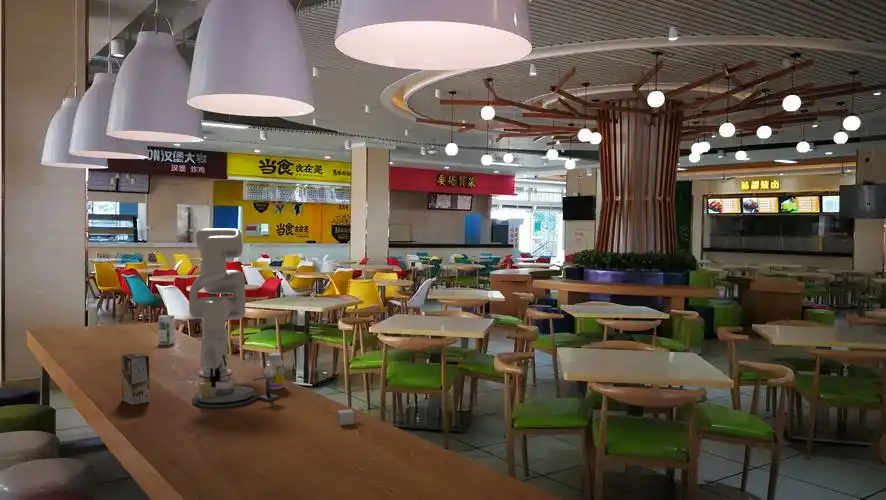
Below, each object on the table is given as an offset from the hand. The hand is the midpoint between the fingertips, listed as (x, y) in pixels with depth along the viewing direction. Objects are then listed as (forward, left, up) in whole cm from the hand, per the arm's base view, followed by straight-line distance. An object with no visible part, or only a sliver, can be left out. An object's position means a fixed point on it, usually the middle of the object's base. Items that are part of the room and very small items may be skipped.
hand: (214, 386), depth 244 cm
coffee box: (-17, -20, -4) cm, 27 cm away
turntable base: (+6, 0, -4) cm, 7 cm away
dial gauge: (+17, +8, -4) cm, 19 cm away
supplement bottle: (+6, +22, -4) cm, 23 cm away
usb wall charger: (+60, +7, -4) cm, 60 cm away
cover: (+5, 0, -2) cm, 5 cm away
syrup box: (-109, +48, -4) cm, 119 cm away
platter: (+6, 0, -3) cm, 6 cm away
